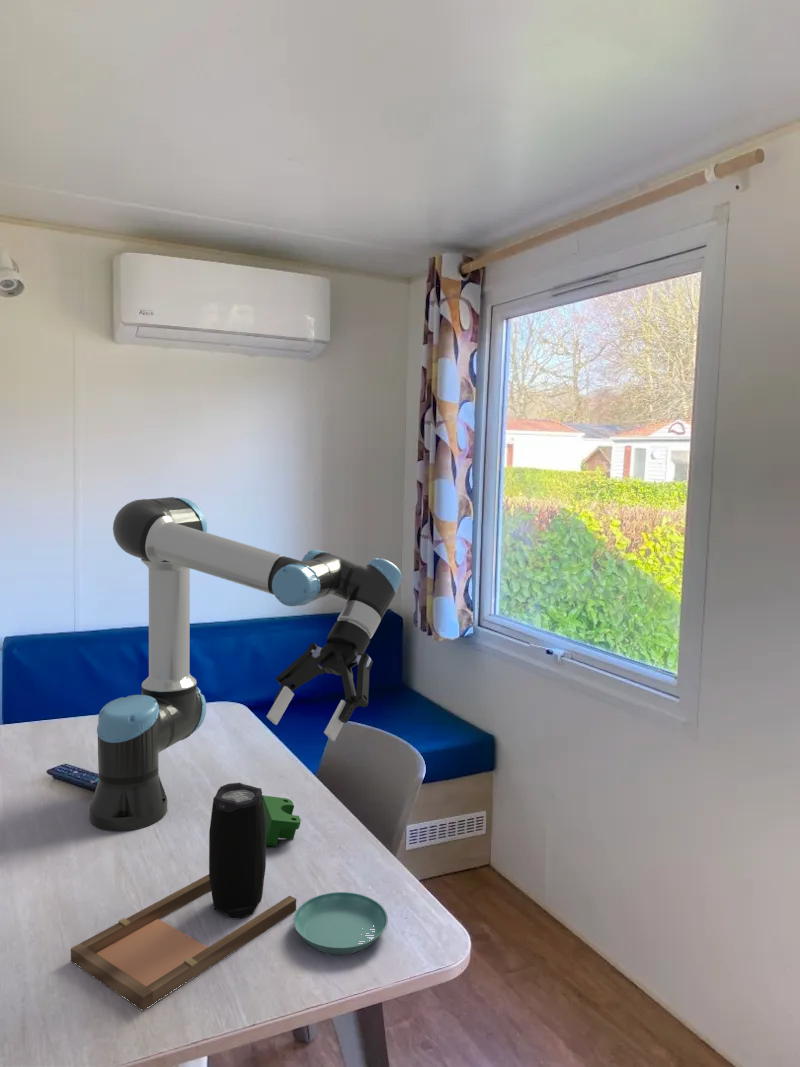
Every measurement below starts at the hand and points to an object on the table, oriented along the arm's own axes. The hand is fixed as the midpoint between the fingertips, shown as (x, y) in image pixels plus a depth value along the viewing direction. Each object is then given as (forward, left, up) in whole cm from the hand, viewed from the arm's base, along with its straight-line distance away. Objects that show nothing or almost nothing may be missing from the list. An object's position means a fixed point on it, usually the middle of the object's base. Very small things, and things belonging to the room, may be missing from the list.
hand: (299, 728), depth 136 cm
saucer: (+17, -9, -27) cm, 33 cm away
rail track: (-1, -23, -26) cm, 35 cm away
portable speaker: (-1, -14, -27) cm, 30 cm away
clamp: (-13, +8, -27) cm, 31 cm away
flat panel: (-1, -30, -26) cm, 40 cm away
